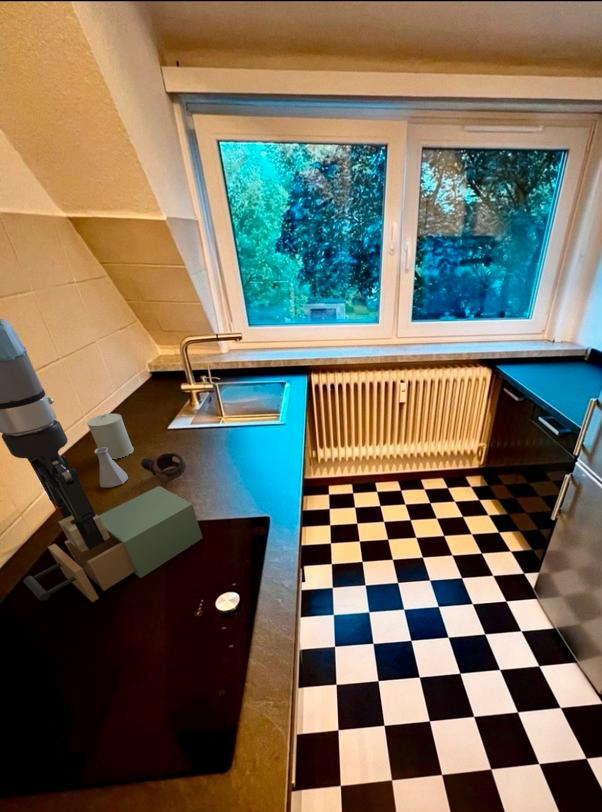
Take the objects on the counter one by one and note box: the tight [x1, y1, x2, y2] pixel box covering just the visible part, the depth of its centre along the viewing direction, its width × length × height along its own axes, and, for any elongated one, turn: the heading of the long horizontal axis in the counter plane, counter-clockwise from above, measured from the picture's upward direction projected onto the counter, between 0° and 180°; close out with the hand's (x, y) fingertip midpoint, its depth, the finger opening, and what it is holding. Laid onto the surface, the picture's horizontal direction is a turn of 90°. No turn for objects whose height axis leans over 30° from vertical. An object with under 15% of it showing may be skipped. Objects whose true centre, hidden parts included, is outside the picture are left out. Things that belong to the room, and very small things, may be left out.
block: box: [58, 514, 110, 552], centre depth 72 cm, size 5×5×5 cm
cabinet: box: [98, 485, 204, 579], centre depth 83 cm, size 15×13×10 cm
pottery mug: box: [140, 451, 188, 485], centre depth 108 cm, size 12×10×8 cm
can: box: [86, 413, 135, 460], centre depth 119 cm, size 9×9×12 cm
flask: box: [94, 447, 129, 488], centre depth 105 cm, size 7×7×10 cm
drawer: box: [23, 533, 136, 603], centre depth 74 cm, size 19×11×8 cm, turn 145°
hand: (89, 538), depth 73 cm, fingers closed on block, 5 cm apart
